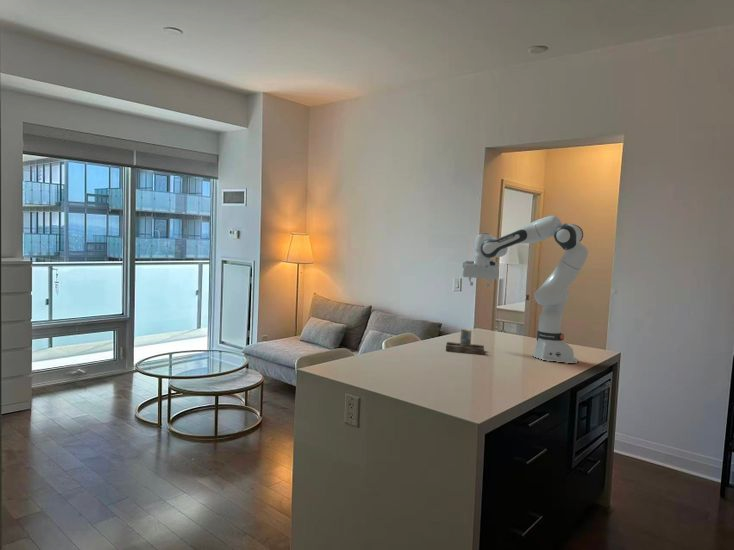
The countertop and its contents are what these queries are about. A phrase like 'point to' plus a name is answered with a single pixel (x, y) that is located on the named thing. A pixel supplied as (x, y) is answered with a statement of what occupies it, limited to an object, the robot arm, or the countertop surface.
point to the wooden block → (465, 337)
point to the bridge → (465, 348)
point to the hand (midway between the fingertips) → (479, 286)
